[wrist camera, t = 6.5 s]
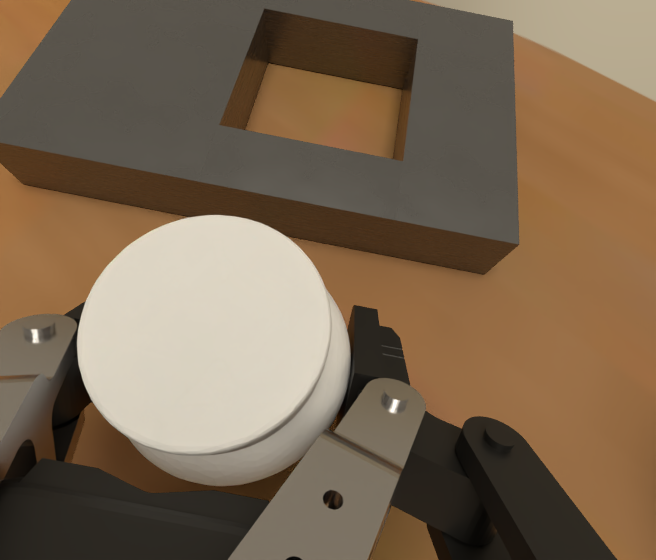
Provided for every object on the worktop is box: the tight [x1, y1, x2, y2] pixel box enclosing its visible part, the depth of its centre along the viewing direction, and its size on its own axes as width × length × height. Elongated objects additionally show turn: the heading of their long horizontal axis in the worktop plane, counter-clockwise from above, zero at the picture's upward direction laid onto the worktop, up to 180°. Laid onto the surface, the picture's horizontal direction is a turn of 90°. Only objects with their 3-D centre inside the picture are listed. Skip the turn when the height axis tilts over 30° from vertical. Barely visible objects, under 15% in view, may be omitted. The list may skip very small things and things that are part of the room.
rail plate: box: [0, 0, 519, 274], centre depth 19 cm, size 22×14×3 cm, turn 80°
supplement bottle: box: [77, 215, 351, 486], centre depth 10 cm, size 5×5×10 cm
